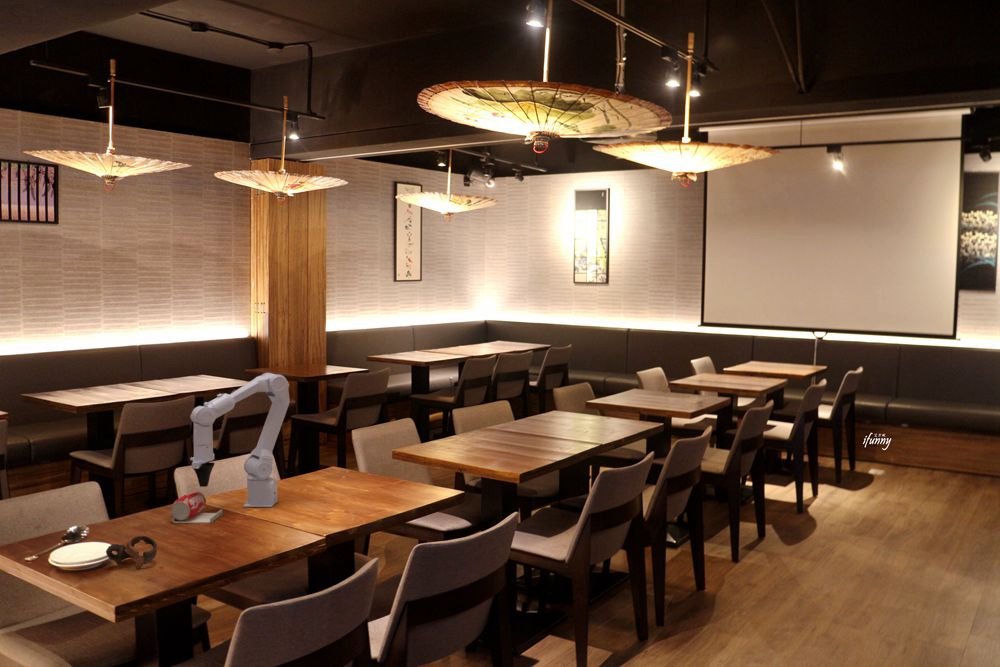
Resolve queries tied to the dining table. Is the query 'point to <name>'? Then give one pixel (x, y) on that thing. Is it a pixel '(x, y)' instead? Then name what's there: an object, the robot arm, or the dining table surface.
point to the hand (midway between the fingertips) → (203, 486)
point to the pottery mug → (132, 551)
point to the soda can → (188, 505)
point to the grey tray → (200, 518)
